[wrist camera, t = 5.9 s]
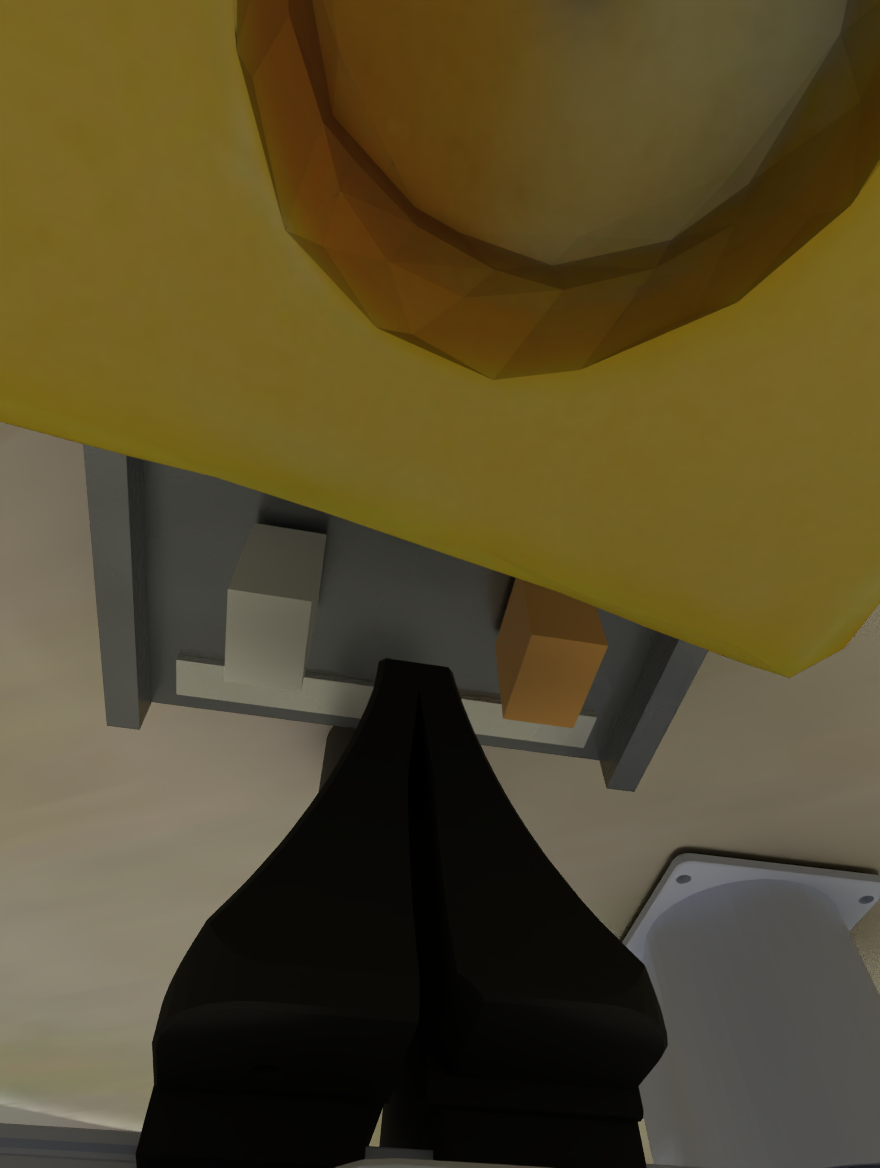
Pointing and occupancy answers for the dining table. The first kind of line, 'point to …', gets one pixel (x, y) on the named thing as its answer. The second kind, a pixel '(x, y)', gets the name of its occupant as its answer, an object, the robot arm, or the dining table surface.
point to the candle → (475, 281)
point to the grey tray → (337, 620)
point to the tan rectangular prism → (547, 655)
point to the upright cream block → (273, 607)
